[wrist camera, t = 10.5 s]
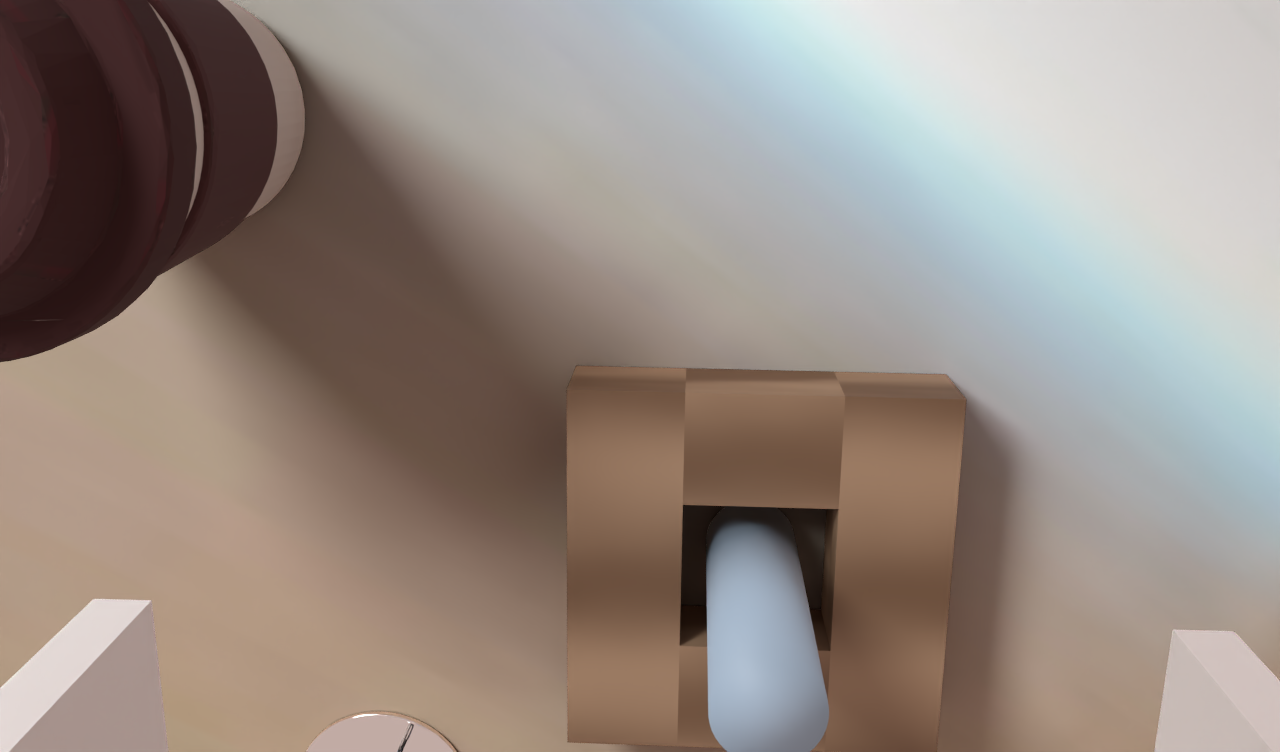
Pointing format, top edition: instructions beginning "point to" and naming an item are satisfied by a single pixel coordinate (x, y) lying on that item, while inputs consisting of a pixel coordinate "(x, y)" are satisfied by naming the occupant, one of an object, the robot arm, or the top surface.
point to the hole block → (760, 477)
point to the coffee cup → (128, 150)
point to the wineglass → (379, 735)
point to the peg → (760, 637)
